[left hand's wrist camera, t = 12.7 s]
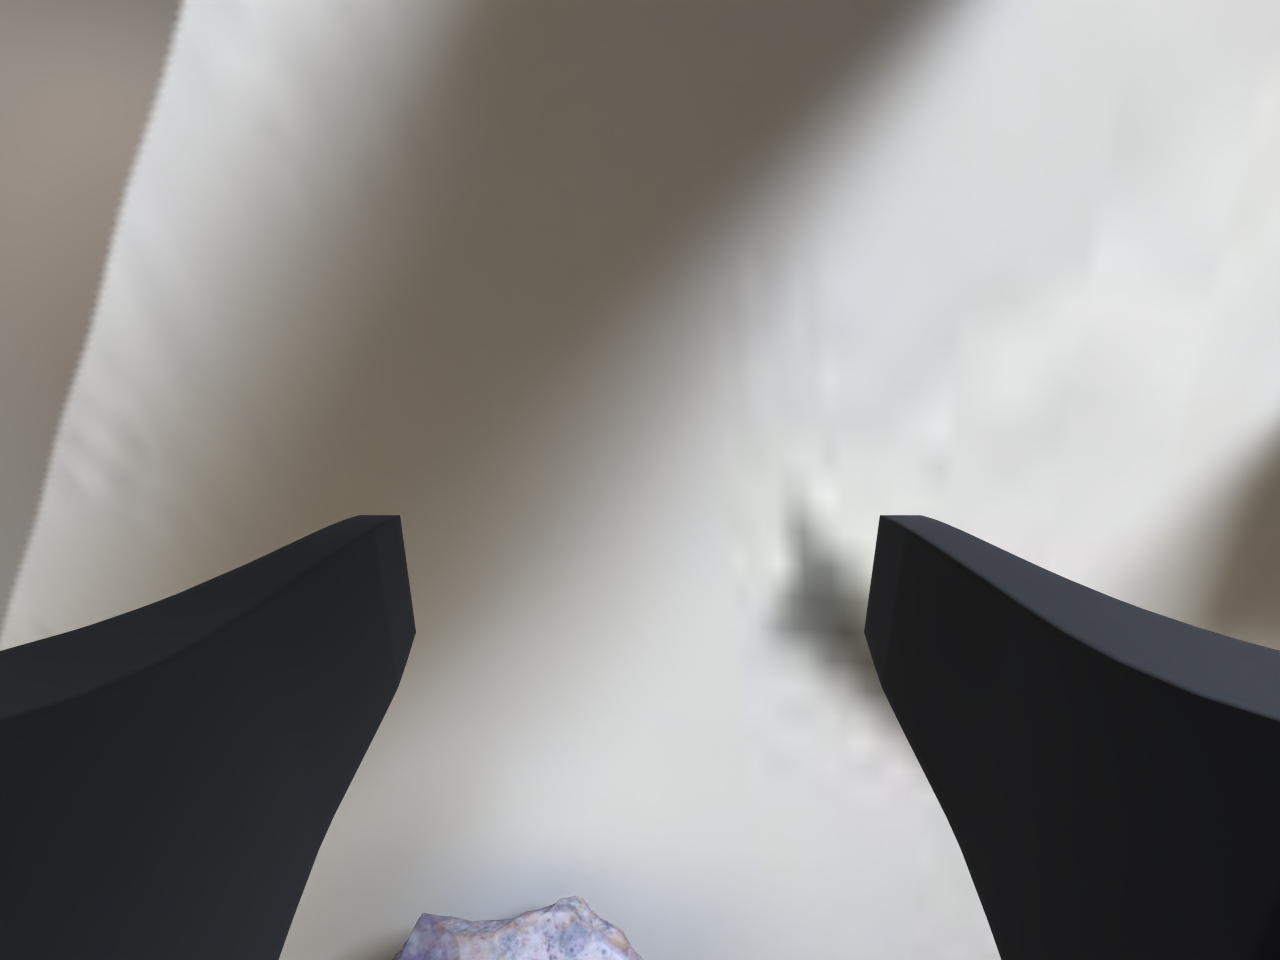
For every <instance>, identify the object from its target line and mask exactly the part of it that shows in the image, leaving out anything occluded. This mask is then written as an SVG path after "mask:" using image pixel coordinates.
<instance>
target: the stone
mask: <svg viewBox="0 0 1280 960" xmlns="http://www.w3.org/2000/svg"><path fill="white" fill-rule="evenodd" d="M393 960H642V958H641V957H640V956H639V955H638V954H637V953H636V952H635V951H634V950H633V949H632V947H631V945H630V943H629V942H628V940H627V938H626V936H625V934H624V933H623V931H622V930H620V929H618V928H617V927H615V926H613V925H612V924H610V923H608V922H607V921H605V920H603V919H602V918H600V917H599V916H598V915H596V914H595V913H594V912H593V911H592V910H590V908H589V906H588V905H587V903H586V902H585V900H584V899H583V898H580V897H576V896H573V897H569V898H564V899H560V900H559V901H558V902H557V903H556V904H553V905H551V906H548V907H545V908H543V909H540V910H537V911H530V912H525V913H524V914H522V915H520V916H518V917H517V918H514V919H510V920H492V921H476V922H472V921H468V920H464V919H459V918H455V917H446V916H437V915H431V914H425V913H423V914H422V916H421V917H420V918H419V920H418V921H417V923H416V925H415V927H414V929H413V931H412V933H411V935H410V937H409V939H408V940H407V942H406V943H405V944H404V947H403V950H401V951H400V952H399V953H397V954H396V955H395V957H394V959H393Z"/></svg>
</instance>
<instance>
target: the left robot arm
mask: <svg viewBox="0 0 1280 960" xmlns="http://www.w3.org/2000/svg"><path fill="white" fill-rule="evenodd" d="M415 633H416V630H415V622H414V615H413V608H412V600H411V593H410V586H409V578H408V571H407V563H406V556H405V549H404V541H403V534H402V527H401V519H400V515H359V516H356V517H352V518H349V519H346V520H343V521H340V522H338V523H335V524H333V525H330V526H328V527H326V528H323V529H321V530H319V531H317V532H315V533H312V534H310V535H308V536H306V537H304V538H302V539H299V540H297V541H295V542H293V543H291V544H289V545H287V546H284V547H282V548H280V549H278V550H276V551H274V552H272V553H269V554H267V555H265V556H263V557H261V558H259V559H257V560H254V561H252V562H250V563H248V564H246V565H243V566H241V567H239V568H236V569H234V570H232V571H230V572H227V573H225V574H223V575H220V576H218V577H216V578H213V579H211V580H209V581H206V582H204V583H202V584H199V585H197V586H195V587H192V588H190V589H188V590H185V591H183V592H181V593H178V594H176V595H173V596H171V597H168V598H166V599H163V600H160V601H158V602H155V603H152V604H150V605H147V606H144V607H142V608H139V609H136V610H133V611H130V612H127V613H125V614H122V615H119V616H116V617H113V618H110V619H107V620H104V621H101V622H98V623H95V624H92V625H89V626H86V627H83V628H80V629H77V630H73V631H70V632H66V633H63V634H59V635H56V636H52V637H49V638H45V639H42V640H38V641H34V642H31V643H27V644H24V645H20V646H17V647H13V648H10V649H6V650H2V651H0V960H279V957H280V954H281V951H282V948H283V945H284V943H285V940H286V937H287V934H288V931H289V928H290V925H291V922H292V920H293V917H294V914H295V912H296V909H297V906H298V904H299V901H300V898H301V896H302V893H303V890H304V888H305V885H306V882H307V880H308V877H309V874H310V872H311V869H312V866H313V864H314V861H315V859H316V856H317V853H318V851H319V848H320V846H321V844H322V841H323V839H324V837H325V835H326V832H327V830H328V828H329V826H330V824H331V821H332V819H333V817H334V815H335V813H336V811H337V809H338V807H339V805H340V803H341V801H342V799H343V797H344V795H345V793H346V791H347V789H348V787H349V785H350V783H351V781H352V779H353V777H354V775H355V773H356V771H357V769H358V767H359V765H360V763H361V761H362V759H363V757H364V755H365V753H366V751H367V749H368V747H369V745H370V743H371V741H372V739H373V738H374V736H375V734H376V732H377V730H378V727H379V725H380V723H381V721H382V719H383V717H384V715H385V713H386V711H387V709H388V707H389V705H390V703H391V701H392V699H393V697H394V695H395V693H396V690H397V688H398V686H399V683H400V680H401V677H402V674H403V671H404V668H405V665H406V663H407V659H408V656H409V653H410V649H411V646H412V643H413V640H414V636H415ZM864 633H865V636H866V640H867V643H868V646H869V649H870V653H871V656H872V659H873V663H874V665H875V668H876V671H877V674H878V677H879V680H880V683H881V686H882V688H883V690H884V693H885V695H886V697H887V699H888V701H889V703H890V705H891V707H892V709H893V711H894V713H895V715H896V717H897V719H898V721H899V723H900V725H901V727H902V730H903V732H904V734H905V736H906V738H907V739H908V741H909V743H910V745H911V747H912V749H913V751H914V753H915V755H916V757H917V759H918V761H919V763H920V765H921V767H922V769H923V771H924V773H925V775H926V777H927V779H928V781H929V783H930V785H931V787H932V789H933V791H934V793H935V795H936V797H937V799H938V801H939V803H940V805H941V807H942V809H943V811H944V813H945V815H946V817H947V819H948V821H949V824H950V826H951V828H952V830H953V832H954V835H955V837H956V839H957V841H958V844H959V846H960V848H961V851H962V853H963V856H964V859H965V861H966V864H967V866H968V869H969V872H970V874H971V877H972V880H973V882H974V885H975V888H976V890H977V893H978V896H979V898H980V901H981V904H982V906H983V909H984V912H985V914H986V917H987V920H988V922H989V925H990V928H991V931H992V934H993V937H994V940H995V943H996V945H997V948H998V951H999V954H1000V957H1001V960H1280V651H1278V650H1274V649H1271V648H1267V647H1263V646H1259V645H1256V644H1252V643H1248V642H1245V641H1241V640H1237V639H1234V638H1231V637H1227V636H1224V635H1221V634H1217V633H1214V632H1211V631H1207V630H1204V629H1201V628H1198V627H1195V626H1192V625H1189V624H1186V623H1183V622H1180V621H1177V620H1174V619H1171V618H1168V617H1165V616H1162V615H1159V614H1156V613H1153V612H1150V611H1148V610H1145V609H1142V608H1139V607H1136V606H1134V605H1131V604H1128V603H1126V602H1123V601H1120V600H1118V599H1115V598H1112V597H1110V596H1107V595H1105V594H1103V593H1100V592H1098V591H1095V590H1093V589H1090V588H1088V587H1086V586H1083V585H1081V584H1078V583H1076V582H1073V581H1071V580H1069V579H1066V578H1064V577H1062V576H1059V575H1057V574H1055V573H1053V572H1050V571H1048V570H1046V569H1044V568H1041V567H1039V566H1037V565H1035V564H1033V563H1030V562H1028V561H1026V560H1024V559H1022V558H1020V557H1017V556H1015V555H1013V554H1011V553H1009V552H1007V551H1005V550H1002V549H1000V548H998V547H996V546H994V545H992V544H990V543H987V542H985V541H983V540H981V539H979V538H977V537H975V536H972V535H970V534H968V533H966V532H964V531H962V530H959V529H957V528H955V527H952V526H950V525H948V524H945V523H943V522H940V521H938V520H935V519H932V518H928V517H925V516H921V515H880V519H879V527H878V534H877V541H876V549H875V556H874V563H873V571H872V578H871V586H870V593H869V600H868V608H867V615H866V622H865V630H864Z"/></svg>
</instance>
